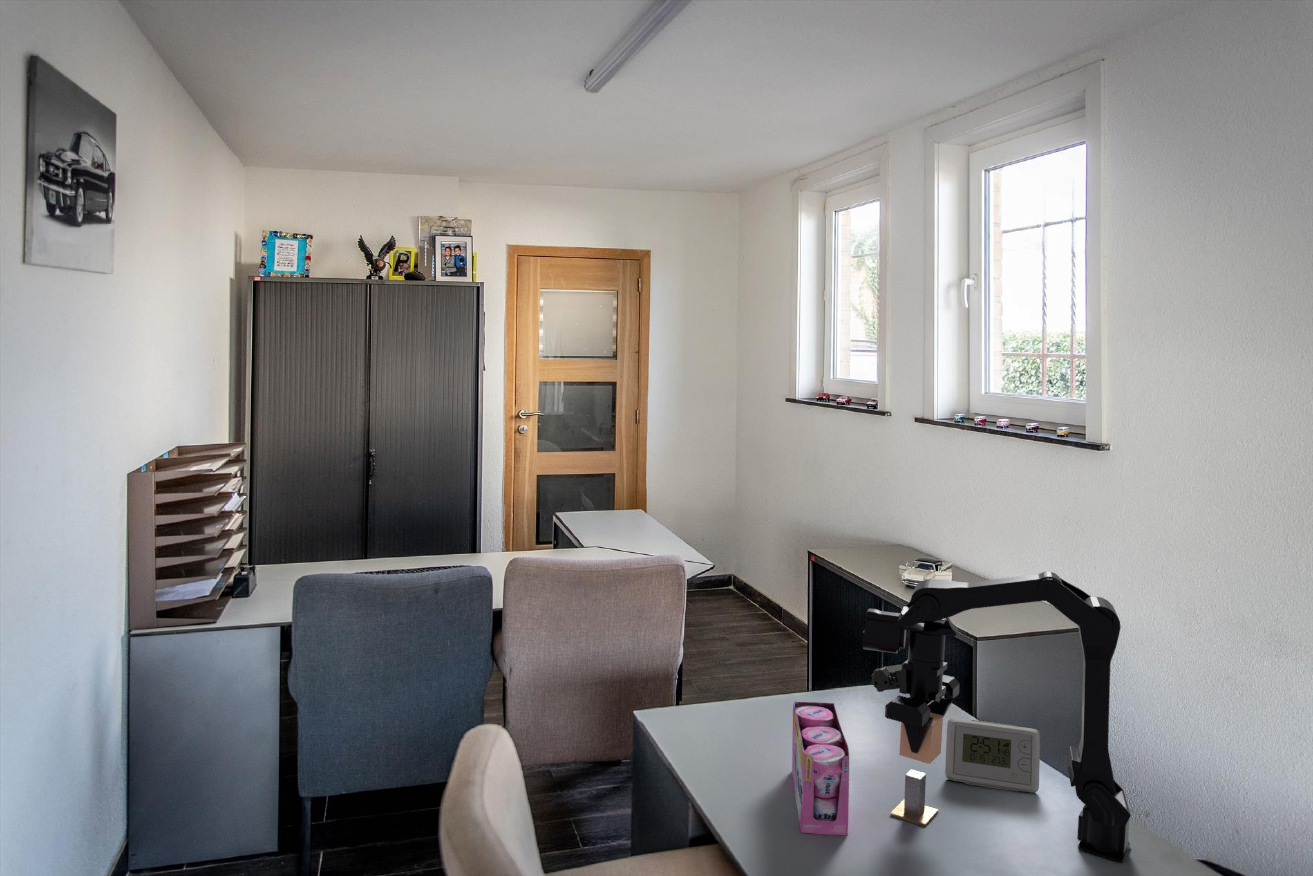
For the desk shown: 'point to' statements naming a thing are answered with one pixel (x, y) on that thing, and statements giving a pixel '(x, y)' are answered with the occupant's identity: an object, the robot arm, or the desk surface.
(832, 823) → the gum box
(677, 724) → the desk surface
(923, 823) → the post on square base
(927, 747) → the tan cardboard box
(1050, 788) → the desk surface
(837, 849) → the desk surface
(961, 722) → the digital clock
